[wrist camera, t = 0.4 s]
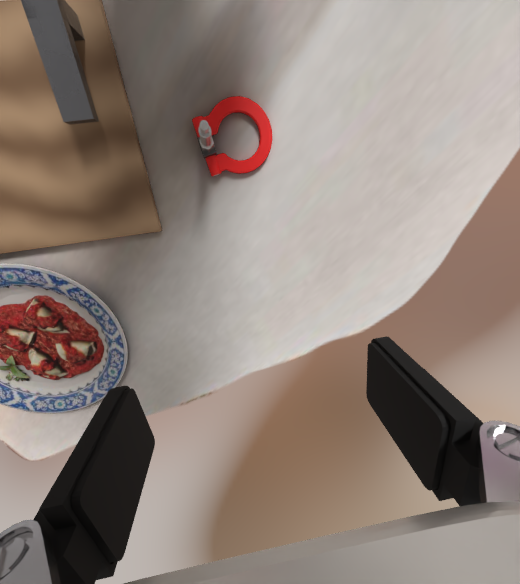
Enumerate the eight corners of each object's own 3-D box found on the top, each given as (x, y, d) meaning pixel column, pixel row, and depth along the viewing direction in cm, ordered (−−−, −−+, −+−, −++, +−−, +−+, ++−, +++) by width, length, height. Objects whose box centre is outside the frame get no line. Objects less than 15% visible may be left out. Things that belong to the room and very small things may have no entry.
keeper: (47, 17, 26) (16, -12, 23) (77, 14, 27) (52, -15, 23) (84, 130, 30) (63, 122, 26) (110, 127, 30) (93, 118, 27)
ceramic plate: (57, 228, 35) (43, 231, 32) (162, 365, 45) (158, 377, 42) (-102, 307, 36) (-129, 317, 34) (34, 424, 46) (22, 438, 43)
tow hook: (259, 90, 32) (188, 113, 32) (286, 31, 20) (173, 66, 20) (277, 162, 35) (213, 184, 35) (309, 148, 24) (213, 180, 23)
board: (-147, 20, 26) (-161, 14, 25) (101, -1, 27) (97, -7, 26) (-18, 255, 35) (-25, 257, 34) (162, 230, 36) (160, 231, 35)
